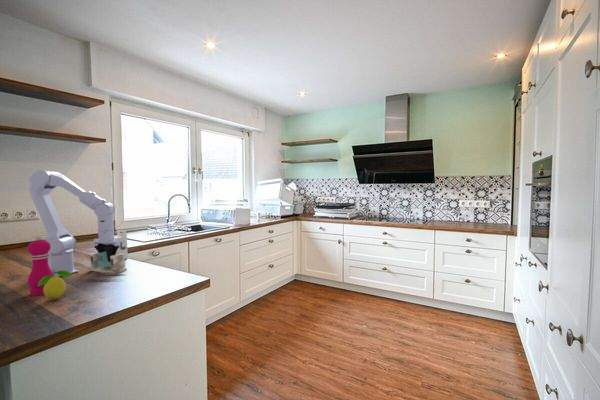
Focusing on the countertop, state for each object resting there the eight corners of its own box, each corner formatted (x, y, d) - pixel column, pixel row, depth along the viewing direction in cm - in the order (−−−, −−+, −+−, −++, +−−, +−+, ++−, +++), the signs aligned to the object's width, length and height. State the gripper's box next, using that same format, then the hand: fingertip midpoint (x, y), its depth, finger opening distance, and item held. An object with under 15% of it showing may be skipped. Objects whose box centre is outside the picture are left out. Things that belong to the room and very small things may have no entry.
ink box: (108, 259, 144) (106, 230, 143) (118, 257, 148) (117, 229, 147) (118, 261, 140) (116, 231, 139) (128, 259, 144) (127, 230, 143)
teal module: (103, 267, 121) (103, 254, 121) (97, 267, 123) (96, 253, 122) (115, 264, 126) (115, 251, 126) (109, 263, 128) (108, 250, 127)
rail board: (113, 274, 119) (112, 256, 119) (90, 270, 125) (89, 254, 125) (126, 270, 125) (125, 253, 124) (104, 266, 131) (103, 250, 130)
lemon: (73, 295, 97) (71, 266, 96) (59, 302, 91) (57, 271, 90) (53, 295, 96) (51, 266, 96) (37, 302, 91) (35, 272, 90)
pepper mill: (53, 286, 105) (49, 233, 104) (58, 291, 101) (54, 235, 100) (26, 292, 100) (22, 236, 98) (30, 297, 95) (25, 238, 94)
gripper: (126, 229, 125) (127, 260, 126) (104, 228, 130) (106, 257, 131) (110, 232, 118) (112, 264, 119) (88, 230, 124) (89, 261, 125)
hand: (107, 260), depth 125 cm, fingers closed on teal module, 4 cm apart
